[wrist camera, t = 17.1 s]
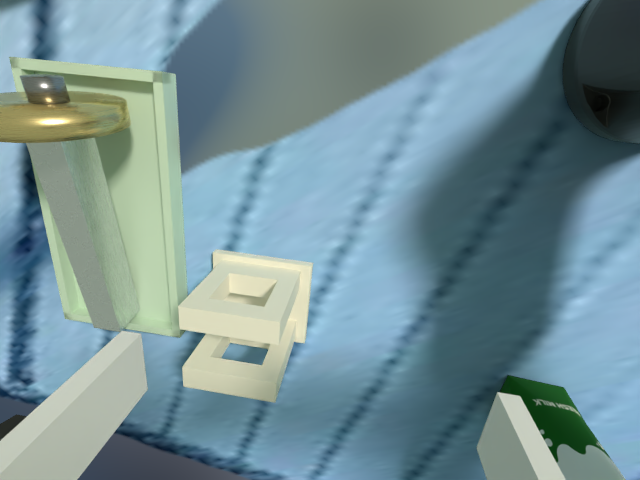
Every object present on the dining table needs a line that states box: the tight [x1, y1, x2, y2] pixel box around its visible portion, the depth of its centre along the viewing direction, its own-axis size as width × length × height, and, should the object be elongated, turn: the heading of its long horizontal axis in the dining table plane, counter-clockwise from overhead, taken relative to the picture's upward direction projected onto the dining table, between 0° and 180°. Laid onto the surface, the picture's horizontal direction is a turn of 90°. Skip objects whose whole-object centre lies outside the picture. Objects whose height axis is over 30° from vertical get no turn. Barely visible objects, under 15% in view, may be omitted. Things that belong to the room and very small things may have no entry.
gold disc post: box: [0, 74, 140, 332], centre depth 36 cm, size 28×12×12 cm, turn 175°
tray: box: [9, 57, 188, 338], centre depth 40 cm, size 16×31×2 cm, turn 175°
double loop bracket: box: [178, 249, 313, 403], centre depth 37 cm, size 11×12×12 cm
